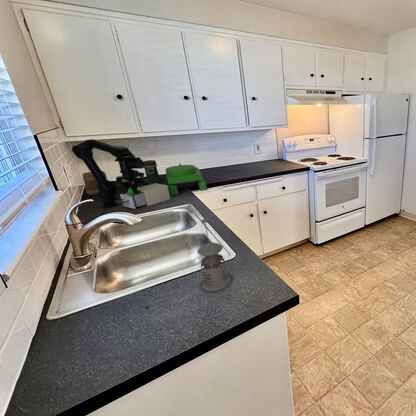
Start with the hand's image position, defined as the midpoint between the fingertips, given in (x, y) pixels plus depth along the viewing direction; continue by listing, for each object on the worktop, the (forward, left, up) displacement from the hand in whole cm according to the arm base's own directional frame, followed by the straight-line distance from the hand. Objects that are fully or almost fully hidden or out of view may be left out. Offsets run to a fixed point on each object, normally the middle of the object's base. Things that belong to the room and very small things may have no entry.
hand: (133, 193), depth 166 cm
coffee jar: (+38, +44, -9) cm, 59 cm away
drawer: (0, 0, -8) cm, 8 cm away
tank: (+43, +9, -9) cm, 45 cm away
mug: (+5, +57, -9) cm, 58 cm away
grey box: (+11, 0, -9) cm, 14 cm away
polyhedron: (0, 0, -1) cm, 1 cm away
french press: (-32, -107, -9) cm, 112 cm away
